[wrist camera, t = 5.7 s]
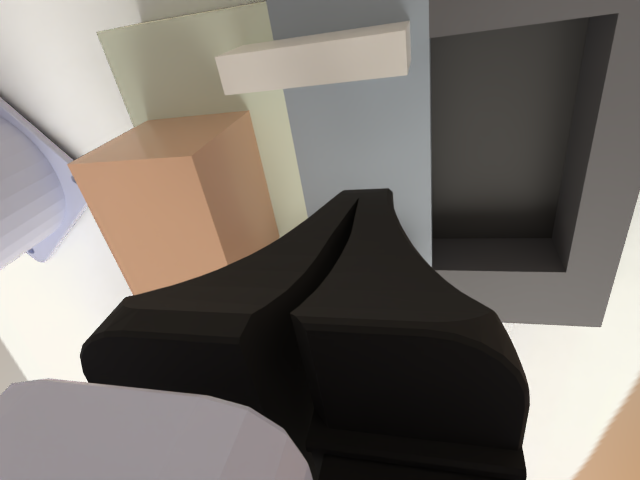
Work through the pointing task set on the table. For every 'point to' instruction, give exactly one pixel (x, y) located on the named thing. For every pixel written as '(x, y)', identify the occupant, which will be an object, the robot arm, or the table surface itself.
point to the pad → (207, 87)
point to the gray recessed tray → (488, 142)
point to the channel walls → (317, 59)
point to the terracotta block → (179, 197)
